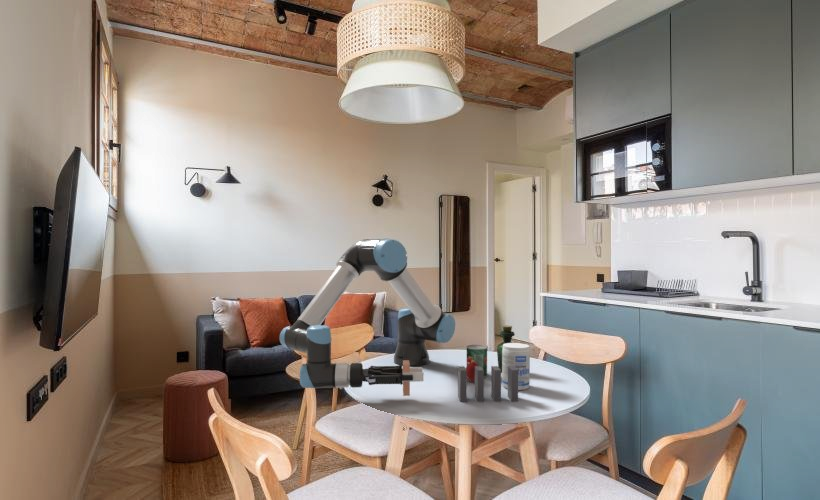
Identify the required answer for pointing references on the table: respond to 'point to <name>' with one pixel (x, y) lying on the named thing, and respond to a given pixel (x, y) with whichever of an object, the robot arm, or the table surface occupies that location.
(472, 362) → the onion
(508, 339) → the potion bottle
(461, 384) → the domino
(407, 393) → the orange domino
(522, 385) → the supplement tub
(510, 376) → the domino
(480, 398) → the domino
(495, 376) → the domino
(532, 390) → the table surface
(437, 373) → the table surface
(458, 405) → the table surface
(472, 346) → the canned tomato
